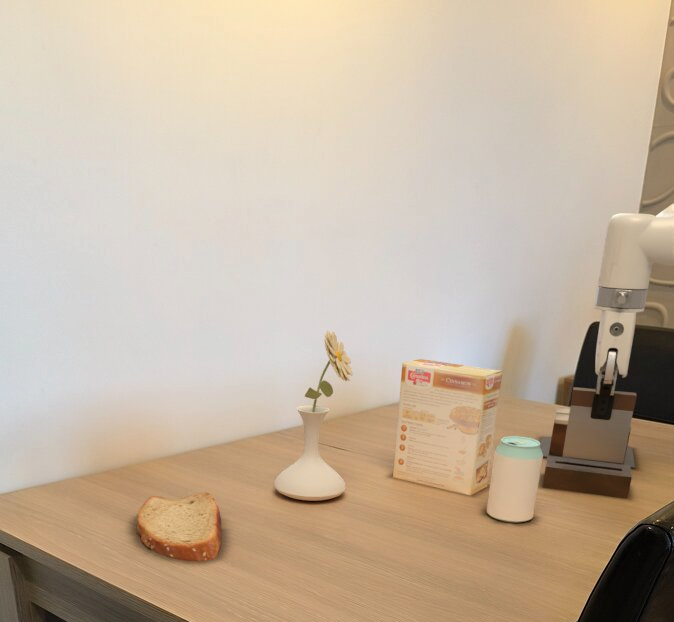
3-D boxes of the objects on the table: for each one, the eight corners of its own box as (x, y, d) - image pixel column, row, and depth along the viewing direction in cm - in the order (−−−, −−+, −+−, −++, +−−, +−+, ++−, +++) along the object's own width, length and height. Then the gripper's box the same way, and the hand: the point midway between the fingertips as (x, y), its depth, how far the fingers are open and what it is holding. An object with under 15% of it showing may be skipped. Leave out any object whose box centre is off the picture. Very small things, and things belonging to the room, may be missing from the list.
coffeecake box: (488, 487, 140) (504, 370, 132) (470, 497, 135) (485, 375, 126) (411, 469, 147) (421, 357, 139) (391, 478, 142) (401, 362, 134)
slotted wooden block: (625, 487, 144) (630, 465, 143) (627, 500, 138) (632, 477, 136) (544, 477, 148) (547, 455, 146) (541, 488, 141) (545, 466, 139)
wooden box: (631, 449, 169) (639, 413, 165) (634, 470, 155) (643, 431, 152) (541, 439, 173) (547, 403, 170) (537, 458, 159) (543, 420, 156)
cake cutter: (622, 461, 140) (636, 392, 135) (623, 465, 138) (636, 395, 133) (562, 455, 143) (573, 387, 138) (562, 458, 141) (573, 389, 136)
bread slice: (199, 567, 104) (199, 540, 102) (92, 536, 111) (90, 510, 109) (277, 527, 118) (278, 502, 116) (177, 501, 125) (176, 478, 124)
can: (526, 528, 123) (539, 449, 118) (480, 519, 125) (491, 442, 120) (536, 515, 129) (549, 439, 123) (492, 506, 131) (503, 432, 126)
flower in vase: (315, 512, 124) (322, 340, 114) (258, 494, 130) (261, 330, 120) (365, 493, 134) (376, 333, 123) (310, 477, 140) (317, 323, 129)
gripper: (648, 306, 122) (625, 430, 130) (643, 297, 136) (622, 409, 144) (595, 303, 123) (575, 425, 131) (595, 294, 137) (577, 405, 145)
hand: (600, 416), depth 137 cm, fingers closed on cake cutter, 2 cm apart
